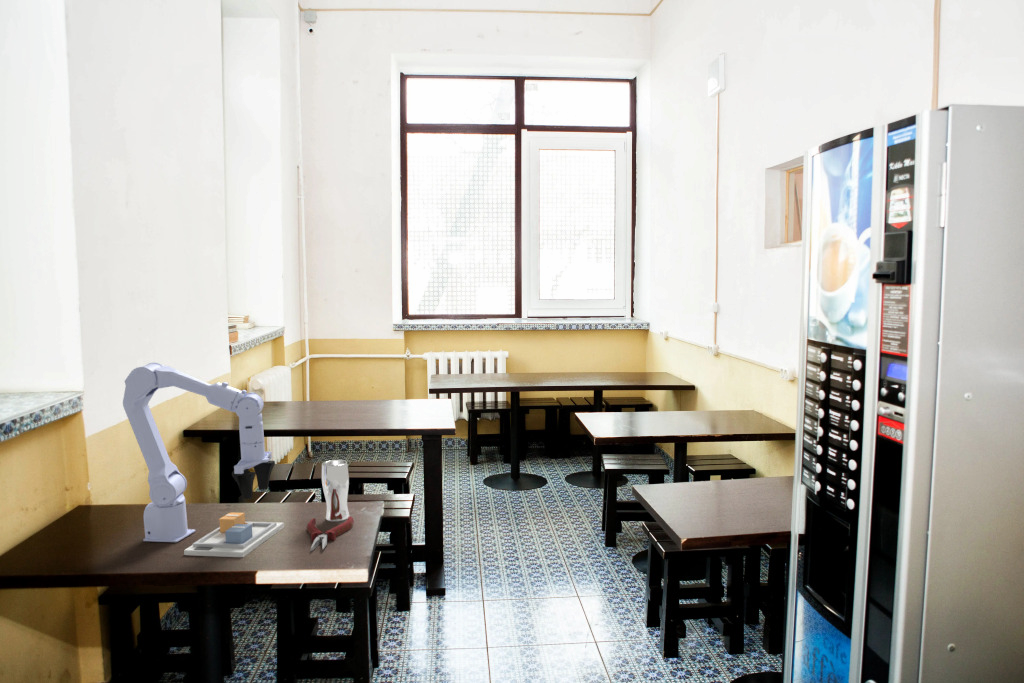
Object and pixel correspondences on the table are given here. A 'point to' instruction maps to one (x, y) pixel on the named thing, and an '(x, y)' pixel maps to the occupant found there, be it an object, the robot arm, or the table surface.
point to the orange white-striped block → (231, 521)
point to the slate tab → (239, 534)
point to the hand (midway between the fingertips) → (255, 493)
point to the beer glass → (335, 489)
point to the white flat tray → (218, 547)
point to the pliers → (327, 532)
